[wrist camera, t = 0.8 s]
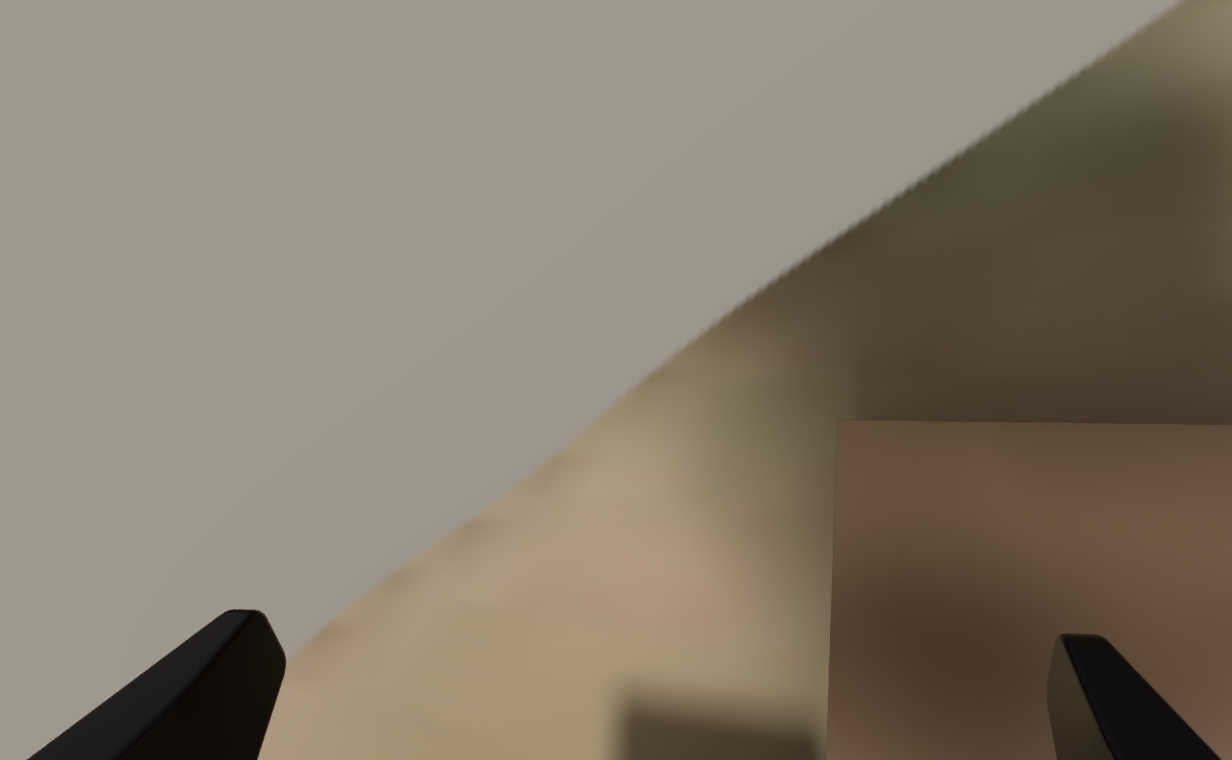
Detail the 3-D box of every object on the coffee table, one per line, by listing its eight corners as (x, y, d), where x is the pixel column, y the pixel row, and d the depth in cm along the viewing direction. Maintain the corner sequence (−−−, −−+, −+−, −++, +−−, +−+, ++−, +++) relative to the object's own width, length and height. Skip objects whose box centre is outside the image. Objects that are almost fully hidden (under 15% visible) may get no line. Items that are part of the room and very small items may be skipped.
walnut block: (1352, 943, 16) (1449, 1040, 13) (854, 843, 20) (821, 897, 16) (1315, 460, 18) (1390, 426, 15) (865, 448, 22) (837, 419, 18)
